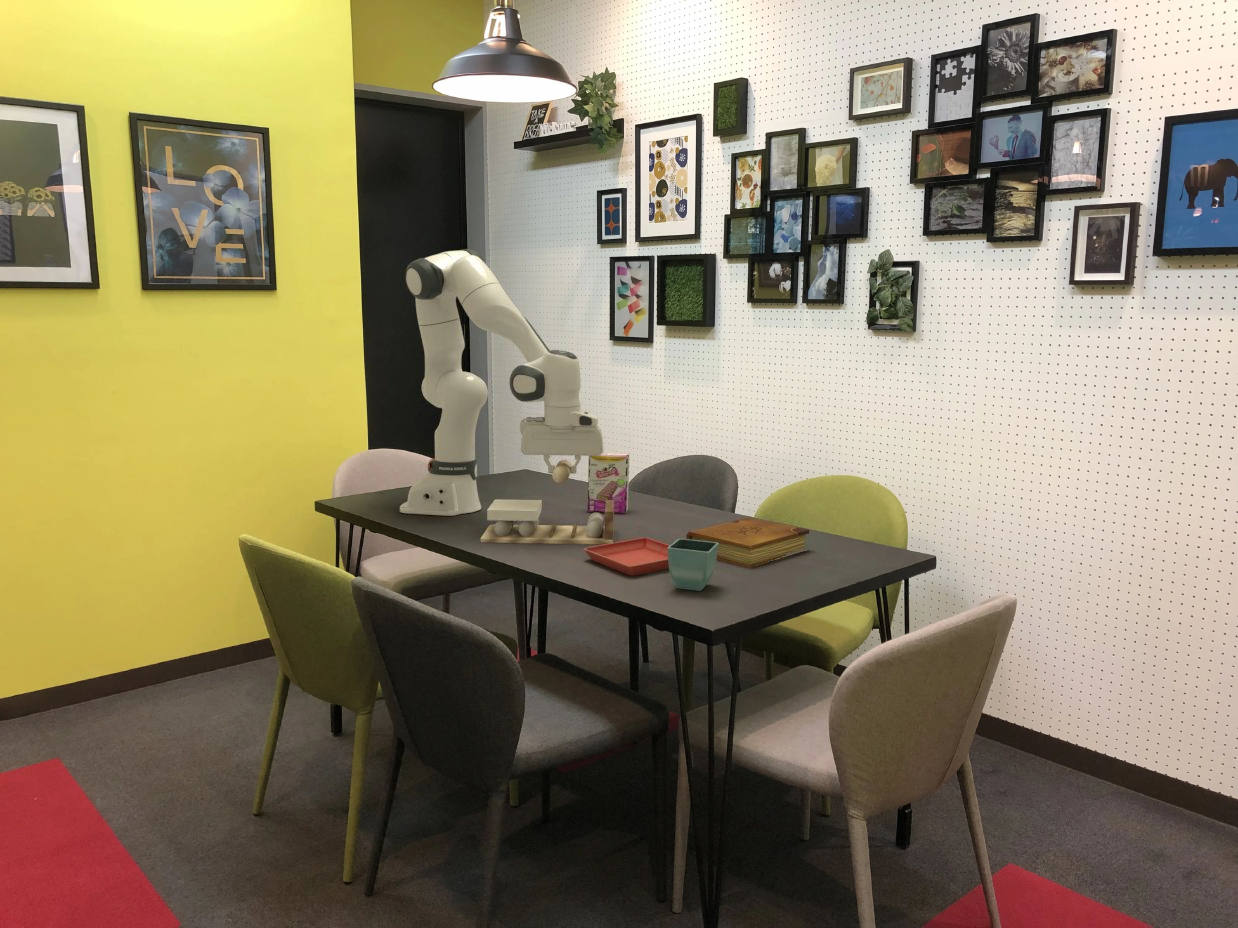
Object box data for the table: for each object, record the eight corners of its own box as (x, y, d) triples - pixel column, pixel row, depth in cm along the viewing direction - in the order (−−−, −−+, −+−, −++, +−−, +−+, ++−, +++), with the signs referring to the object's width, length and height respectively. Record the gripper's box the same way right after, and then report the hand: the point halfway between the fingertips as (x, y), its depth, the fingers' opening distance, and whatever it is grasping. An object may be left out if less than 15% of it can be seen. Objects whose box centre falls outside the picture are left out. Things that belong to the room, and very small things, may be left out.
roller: (552, 483, 225) (551, 467, 224) (556, 475, 235) (555, 459, 235) (569, 483, 224) (568, 466, 224) (572, 475, 235) (571, 459, 235)
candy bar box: (587, 512, 260) (587, 454, 257) (589, 509, 265) (590, 452, 262) (627, 514, 259) (628, 456, 256) (628, 510, 264) (629, 453, 261)
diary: (745, 539, 235) (746, 517, 234) (808, 553, 222) (809, 529, 221) (685, 554, 219) (686, 530, 218) (749, 570, 206) (750, 544, 205)
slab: (487, 520, 225) (487, 510, 225) (495, 508, 238) (494, 499, 238) (536, 520, 225) (536, 510, 225) (541, 509, 238) (541, 500, 238)
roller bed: (480, 542, 225) (480, 509, 224) (489, 528, 240) (489, 497, 239) (612, 544, 225) (613, 512, 224) (613, 530, 240) (614, 499, 239)
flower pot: (718, 583, 194) (719, 541, 192) (708, 595, 185) (709, 551, 184) (677, 579, 196) (678, 537, 195) (665, 590, 188) (666, 547, 187)
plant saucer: (629, 580, 196) (629, 565, 196) (582, 561, 211) (582, 547, 210) (694, 567, 207) (695, 553, 206) (645, 550, 221) (645, 537, 221)
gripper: (518, 418, 225) (518, 474, 227) (602, 419, 224) (602, 475, 226) (521, 415, 231) (521, 470, 233) (603, 416, 230) (603, 471, 233)
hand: (562, 473), depth 230 cm, fingers closed on roller, 4 cm apart
